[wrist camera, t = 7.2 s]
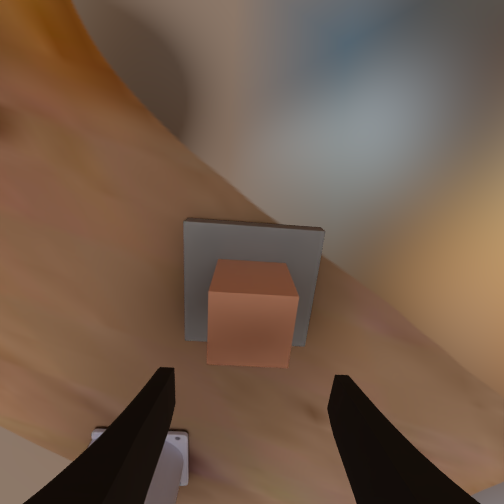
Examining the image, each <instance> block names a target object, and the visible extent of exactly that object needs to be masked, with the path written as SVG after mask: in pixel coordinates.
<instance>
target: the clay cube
mask: <svg viewBox="0 0 504 504" xmlns="http://www.w3.org/2000/svg"><path fill="white" fill-rule="evenodd" d="M298 301H299V295H298V292H297V290H296V287H295V285H294V282H293V280H292V277H291V275H290V272H289V270H288V267H287V265H286V263H276V262H260V261H244V260H229V259H218V261H217V265H216V268H215V271H214V275H213V278H212V281H211V285H210V288H209V291H208V334H207V365H229V366H251V367H273V368H288V366H289V359H290V353H291V346H292V340H293V333H294V327H295V320H296V314H297V308H298Z"/></svg>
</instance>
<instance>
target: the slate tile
mask: <svg viewBox="0 0 504 504" xmlns="http://www.w3.org/2000/svg"><path fill="white" fill-rule="evenodd" d="M183 222H184V305H185V340H187V341H206V342H207V334H208V291H209V288H210V285H211V281H212V278H213V275H214V271H215V268H216V265H217V261H218V259H229V260H244V261H260V262H276V263H286V265H287V267H288V270H289V272H290V275H291V277H292V280H293V282H294V285H295V287H296V290H297V292H298V295H299V301H298V308H297V314H296V320H295V327H294V333H293V340H292V346H305V343H306V337H307V331H308V326H309V320H310V315H311V309H312V303H313V298H314V292H315V287H316V281H317V275H318V270H319V264H320V259H321V253H322V247H323V241H324V236H325V231H324V230H323V229H322V228H321V227H308V226H295V225H281V224H267V223H253V222H239V221H225V220H211V219H197V218H187V219H185V220H184V221H183Z"/></svg>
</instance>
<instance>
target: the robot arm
mask: <svg viewBox="0 0 504 504" xmlns="http://www.w3.org/2000/svg"><path fill="white" fill-rule="evenodd" d="M174 407H175V374H174V368H168V367H160V368H159V369H158V370H157V371H156V372H155V374H154V375H153V376H152V377H151V379H150V380H149V381H148V383H147V384H146V385H145V386H144V388H143V389H142V390H141V391H140V392H139V394H138V395H137V396H136V397H135V398H134V399H133V401H132V402H131V403H130V404H129V405H128V406H127V408H126V409H125V410H124V411H123V412H122V413H121V414H120V415H119V416H118V417H117V419H116V420H115V421H114V422H113V423H112V424H111V425H110V426H109V427H108V428H107V429H94V430H93V432H92V434H91V436H92V441H91V442H90V444H89V446H88V448H87V449H86V450H85V451H84V452H83V453H82V454H81V455H80V456H79V457H78V458H76V459H75V460H74V461H73V462H72V463H71V464H70V465H69V466H67V467H66V468H65V469H64V470H63V471H62V472H61V473H60V474H58V475H57V476H56V477H55V478H54V479H53V480H52V481H50V482H49V483H48V484H47V485H46V486H44V487H43V488H42V489H41V490H40V491H38V492H37V493H36V494H35V495H33V496H32V497H31V498H30V499H28V500H27V501H26V502H24V503H23V504H176V499H177V494H178V489H179V486H185V485H187V484H188V480H189V461H188V434H187V433H186V432H182V431H169V428H170V424H171V420H172V415H173V411H174ZM327 410H328V414H329V419H330V423H331V427H332V431H333V435H334V438H335V441H336V444H337V447H338V450H339V453H340V456H341V459H342V462H343V465H344V468H345V471H346V473H347V476H348V479H349V482H350V485H351V488H352V491H353V494H354V497H355V500H356V503H357V504H480V503H479V502H477V501H476V500H475V499H474V498H472V497H471V496H470V495H469V494H468V493H466V492H465V491H464V490H463V489H462V488H460V487H459V486H458V485H457V484H455V483H454V482H453V481H452V480H451V479H449V478H448V477H447V476H446V475H445V474H444V473H442V472H441V471H440V470H439V469H438V468H437V467H436V466H435V465H434V464H432V463H431V462H430V461H429V460H428V459H427V458H426V457H425V456H424V455H423V454H421V453H420V452H419V451H418V450H417V449H416V448H415V447H414V446H413V445H412V444H411V443H410V442H409V441H408V440H407V439H406V438H405V437H404V436H403V435H402V434H401V433H400V432H399V431H398V430H397V429H396V428H395V427H394V426H393V425H392V424H391V423H390V422H389V420H388V419H387V418H386V417H385V416H384V415H383V414H382V413H381V412H380V411H379V410H378V409H377V407H376V406H375V405H374V404H373V403H372V402H371V401H370V400H369V398H368V397H367V396H366V395H365V394H364V393H363V392H362V390H361V389H360V388H359V387H358V386H357V385H356V383H355V382H354V381H353V380H352V379H351V378H350V377H349V376H348V375H335V377H334V381H333V386H332V390H331V394H330V399H329V403H328V407H327Z"/></svg>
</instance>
